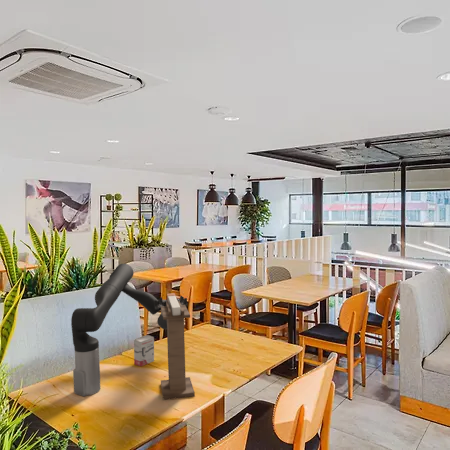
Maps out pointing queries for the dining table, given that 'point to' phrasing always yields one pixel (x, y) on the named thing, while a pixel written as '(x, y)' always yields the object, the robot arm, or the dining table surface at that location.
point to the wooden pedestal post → (176, 356)
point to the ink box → (143, 350)
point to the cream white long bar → (173, 304)
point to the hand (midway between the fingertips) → (171, 298)
